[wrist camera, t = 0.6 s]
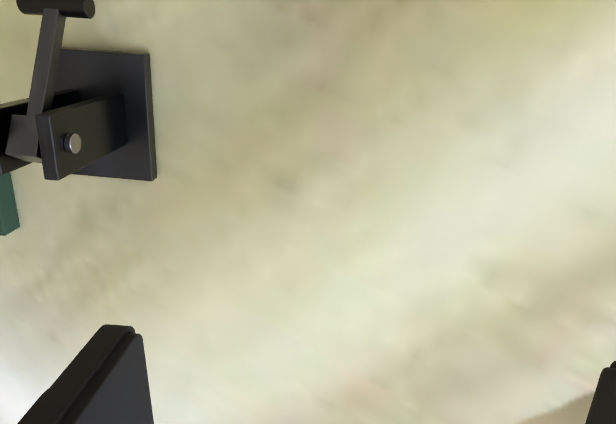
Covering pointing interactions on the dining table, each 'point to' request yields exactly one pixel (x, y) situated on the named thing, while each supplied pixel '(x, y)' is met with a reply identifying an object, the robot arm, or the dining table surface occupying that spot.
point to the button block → (7, 206)
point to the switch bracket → (93, 118)
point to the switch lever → (43, 71)
